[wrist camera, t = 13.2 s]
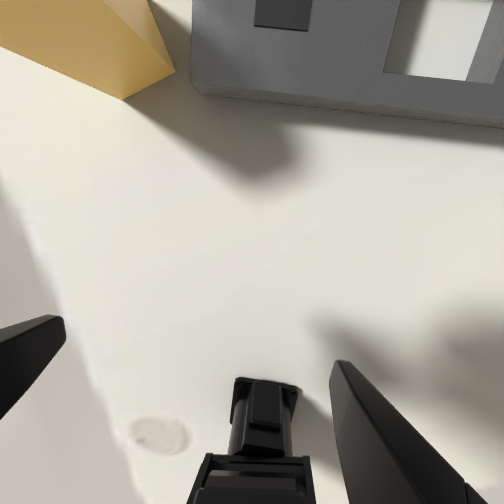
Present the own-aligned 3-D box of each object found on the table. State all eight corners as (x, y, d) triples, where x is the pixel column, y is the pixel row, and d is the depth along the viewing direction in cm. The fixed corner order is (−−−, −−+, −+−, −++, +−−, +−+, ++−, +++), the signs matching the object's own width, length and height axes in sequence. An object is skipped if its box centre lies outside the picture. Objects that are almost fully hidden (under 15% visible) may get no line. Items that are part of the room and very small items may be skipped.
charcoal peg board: (528, 131, 16) (574, 124, 14) (201, 94, 17) (189, 81, 14) (612, -55, 13) (692, -107, 10) (209, -87, 14) (195, -141, 11)
